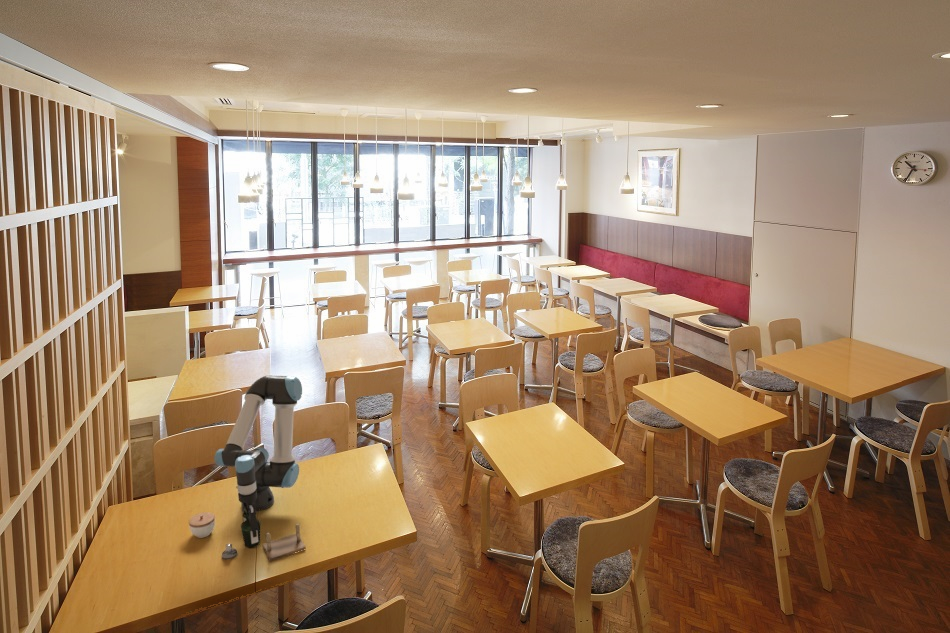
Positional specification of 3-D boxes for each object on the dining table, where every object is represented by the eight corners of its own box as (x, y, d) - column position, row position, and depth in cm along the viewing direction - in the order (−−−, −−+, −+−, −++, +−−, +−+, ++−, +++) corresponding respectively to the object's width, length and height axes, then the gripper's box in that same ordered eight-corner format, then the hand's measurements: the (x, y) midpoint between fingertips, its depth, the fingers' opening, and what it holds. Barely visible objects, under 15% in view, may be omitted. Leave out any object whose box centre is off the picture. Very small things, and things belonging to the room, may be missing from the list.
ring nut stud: (221, 553, 251) (219, 543, 250) (235, 549, 254) (234, 539, 253) (223, 561, 246) (222, 550, 245) (238, 556, 249) (237, 546, 248)
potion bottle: (247, 538, 262) (243, 502, 258) (265, 538, 261) (261, 502, 257) (239, 549, 254) (235, 512, 250) (257, 549, 253) (254, 512, 249)
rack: (263, 547, 255) (261, 527, 253) (297, 536, 263) (296, 517, 261) (270, 561, 246) (268, 541, 243) (305, 549, 253) (304, 530, 251)
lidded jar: (191, 543, 258) (188, 524, 256) (190, 530, 267) (187, 512, 265) (217, 536, 263) (215, 518, 261) (215, 524, 272) (213, 506, 270)
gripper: (232, 481, 260) (236, 524, 264) (244, 506, 240) (248, 552, 245) (250, 476, 263) (254, 519, 268) (263, 501, 244) (267, 546, 249)
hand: (251, 535), depth 257 cm, fingers open, 12 cm apart
